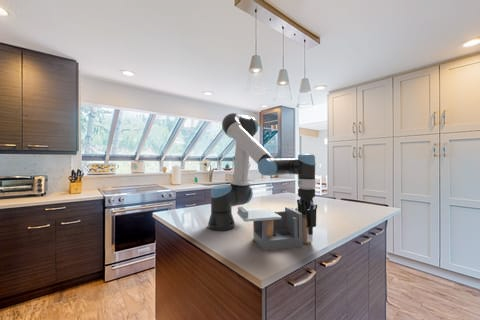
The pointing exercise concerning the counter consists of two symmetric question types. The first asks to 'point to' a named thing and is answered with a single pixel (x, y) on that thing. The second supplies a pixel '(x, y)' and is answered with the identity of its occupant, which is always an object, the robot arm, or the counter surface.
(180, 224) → the counter surface
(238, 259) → the counter surface
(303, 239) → the pin
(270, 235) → the pin
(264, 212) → the pale blue flat panel
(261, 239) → the housing
